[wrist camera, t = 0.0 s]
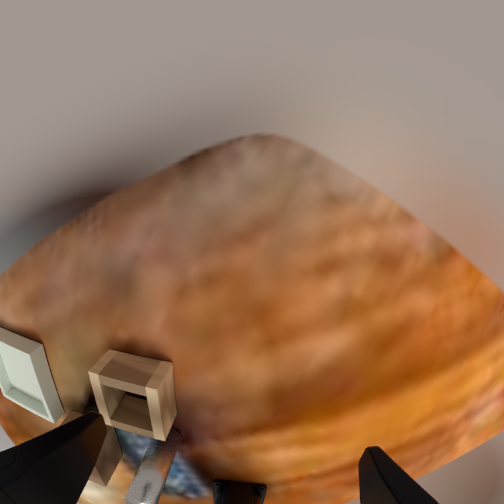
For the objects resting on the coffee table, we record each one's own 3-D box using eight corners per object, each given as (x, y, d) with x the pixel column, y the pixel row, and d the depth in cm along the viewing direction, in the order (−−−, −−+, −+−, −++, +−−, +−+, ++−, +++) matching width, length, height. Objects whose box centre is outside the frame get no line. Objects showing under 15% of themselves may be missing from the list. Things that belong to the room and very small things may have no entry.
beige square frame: (176, 413, 25) (165, 441, 21) (119, 399, 26) (102, 423, 22) (172, 362, 24) (157, 389, 20) (109, 349, 24) (88, 371, 20)
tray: (64, 412, 28) (54, 423, 25) (13, 387, 28) (4, 396, 26) (42, 344, 25) (29, 354, 23) (-8, 323, 26) (-20, 331, 24)
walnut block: (123, 454, 28) (105, 486, 22) (84, 440, 29) (65, 468, 23) (113, 425, 27) (91, 459, 21) (72, 410, 27) (48, 439, 21)
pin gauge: (182, 445, 27) (157, 515, 17) (158, 439, 27) (128, 507, 17) (180, 429, 26) (151, 503, 16) (155, 423, 26) (121, 493, 16)
